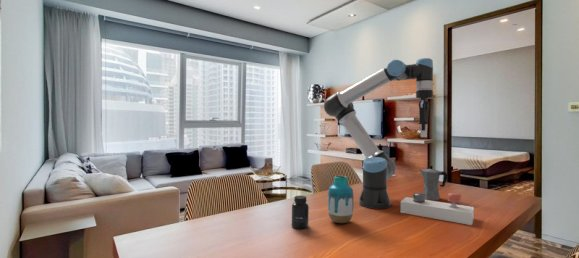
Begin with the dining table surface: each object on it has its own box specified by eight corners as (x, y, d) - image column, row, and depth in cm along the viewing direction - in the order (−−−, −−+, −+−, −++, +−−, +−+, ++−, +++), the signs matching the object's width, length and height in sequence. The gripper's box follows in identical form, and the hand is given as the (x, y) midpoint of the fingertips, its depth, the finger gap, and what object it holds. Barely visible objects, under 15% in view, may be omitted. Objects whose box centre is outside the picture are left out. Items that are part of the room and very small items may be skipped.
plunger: (412, 211, 130) (412, 194, 130) (414, 209, 134) (414, 192, 134) (423, 214, 127) (424, 196, 127) (426, 211, 131) (426, 194, 131)
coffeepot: (414, 196, 158) (415, 164, 157) (423, 194, 163) (423, 163, 163) (443, 203, 145) (443, 168, 145) (451, 200, 151) (452, 166, 151)
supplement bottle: (296, 230, 109) (296, 200, 108) (288, 225, 115) (288, 195, 115) (311, 227, 112) (311, 197, 112) (303, 222, 118) (303, 193, 118)
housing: (400, 212, 131) (400, 201, 131) (405, 207, 139) (406, 196, 139) (472, 225, 114) (472, 213, 114) (473, 218, 123) (473, 207, 122)
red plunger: (446, 212, 122) (446, 194, 122) (448, 209, 126) (448, 192, 126) (459, 215, 119) (460, 196, 119) (461, 211, 123) (461, 193, 123)
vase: (337, 216, 126) (337, 173, 125) (358, 222, 118) (358, 176, 118) (322, 222, 118) (322, 176, 118) (343, 228, 111) (344, 180, 110)
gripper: (430, 88, 134) (429, 137, 134) (434, 90, 144) (434, 136, 145) (413, 89, 138) (412, 137, 139) (419, 91, 149) (418, 136, 149)
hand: (423, 137), depth 142 cm, fingers closed
